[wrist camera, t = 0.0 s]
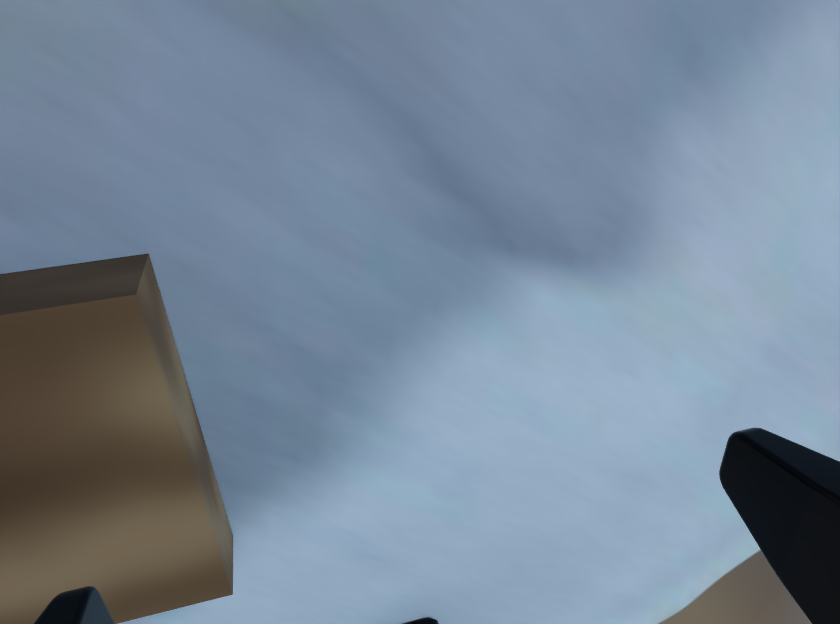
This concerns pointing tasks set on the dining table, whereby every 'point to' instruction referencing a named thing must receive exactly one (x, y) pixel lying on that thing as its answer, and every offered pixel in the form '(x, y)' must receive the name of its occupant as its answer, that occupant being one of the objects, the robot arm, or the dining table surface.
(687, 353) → the dining table surface
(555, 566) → the dining table surface
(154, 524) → the walnut base
